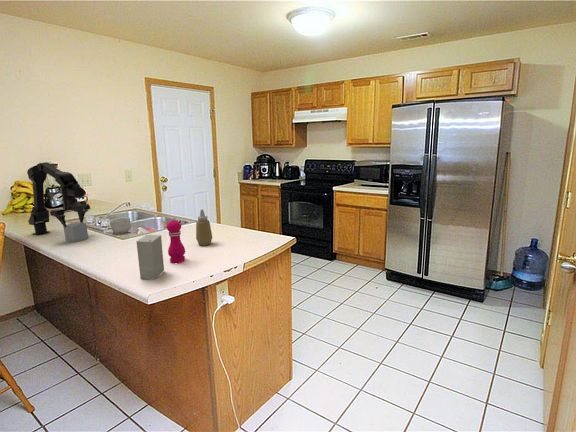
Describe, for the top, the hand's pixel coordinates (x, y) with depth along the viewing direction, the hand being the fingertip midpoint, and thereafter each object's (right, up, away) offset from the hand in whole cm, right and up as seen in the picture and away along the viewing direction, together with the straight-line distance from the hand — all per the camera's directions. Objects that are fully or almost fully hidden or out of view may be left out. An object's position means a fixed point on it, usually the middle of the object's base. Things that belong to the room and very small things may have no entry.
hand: (73, 225), depth 186 cm
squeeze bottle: (+75, -10, -13) cm, 76 cm away
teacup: (+20, -4, +16) cm, 26 cm away
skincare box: (+63, -19, -50) cm, 83 cm away
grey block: (+1, -8, +1) cm, 8 cm away
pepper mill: (+68, -15, -35) cm, 79 cm away
